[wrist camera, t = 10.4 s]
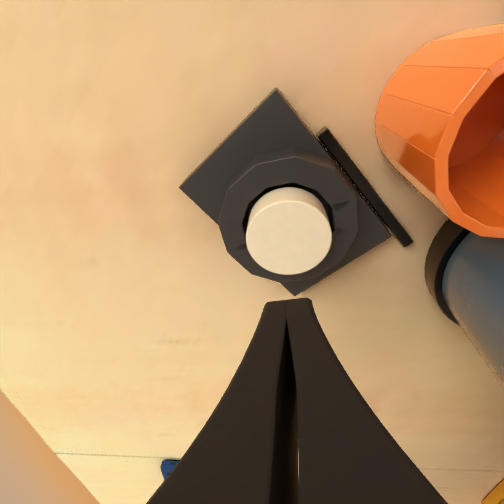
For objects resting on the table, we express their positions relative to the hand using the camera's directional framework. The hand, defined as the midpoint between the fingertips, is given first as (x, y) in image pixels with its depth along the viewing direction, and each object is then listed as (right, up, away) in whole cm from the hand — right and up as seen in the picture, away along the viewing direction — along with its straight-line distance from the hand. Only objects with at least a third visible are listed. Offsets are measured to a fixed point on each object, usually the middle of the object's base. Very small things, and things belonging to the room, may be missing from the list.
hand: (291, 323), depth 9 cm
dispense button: (+1, +4, +6) cm, 7 cm away
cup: (+8, +9, +5) cm, 13 cm away
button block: (+1, +5, +8) cm, 10 cm away
